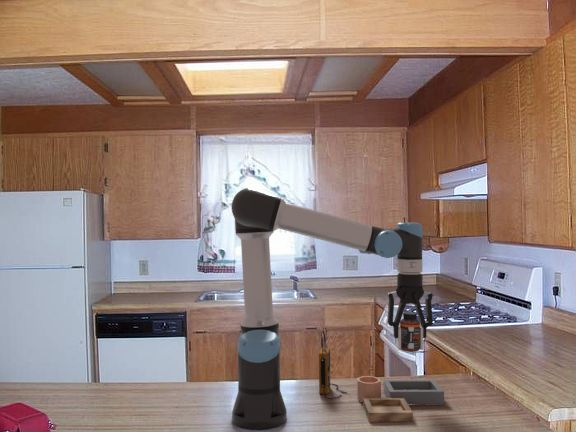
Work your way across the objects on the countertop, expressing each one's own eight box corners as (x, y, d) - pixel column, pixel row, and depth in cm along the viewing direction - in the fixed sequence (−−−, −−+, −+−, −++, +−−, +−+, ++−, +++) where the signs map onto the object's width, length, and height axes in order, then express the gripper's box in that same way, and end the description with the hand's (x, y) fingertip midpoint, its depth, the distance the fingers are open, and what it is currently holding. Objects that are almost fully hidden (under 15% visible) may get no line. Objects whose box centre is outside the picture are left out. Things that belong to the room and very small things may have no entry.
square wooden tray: (368, 421, 139) (368, 412, 139) (363, 406, 150) (363, 397, 150) (412, 421, 139) (412, 412, 139) (404, 406, 150) (403, 397, 150)
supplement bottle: (416, 353, 152) (416, 315, 152) (397, 350, 155) (397, 313, 155) (422, 349, 157) (422, 312, 157) (403, 346, 160) (403, 310, 160)
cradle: (389, 405, 151) (389, 391, 151) (383, 392, 162) (383, 379, 162) (444, 405, 151) (443, 391, 151) (434, 392, 162) (433, 379, 162)
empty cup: (358, 403, 153) (358, 383, 153) (356, 395, 160) (355, 376, 160) (382, 403, 153) (382, 383, 153) (378, 395, 160) (378, 376, 160)
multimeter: (349, 400, 155) (349, 335, 155) (317, 398, 157) (316, 333, 157) (353, 385, 170) (352, 325, 170) (323, 383, 172) (323, 324, 172)
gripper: (380, 274, 152) (381, 351, 152) (444, 274, 152) (444, 351, 152) (376, 271, 160) (376, 345, 160) (437, 271, 160) (437, 345, 160)
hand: (409, 348), depth 156 cm, fingers closed on supplement bottle, 6 cm apart
